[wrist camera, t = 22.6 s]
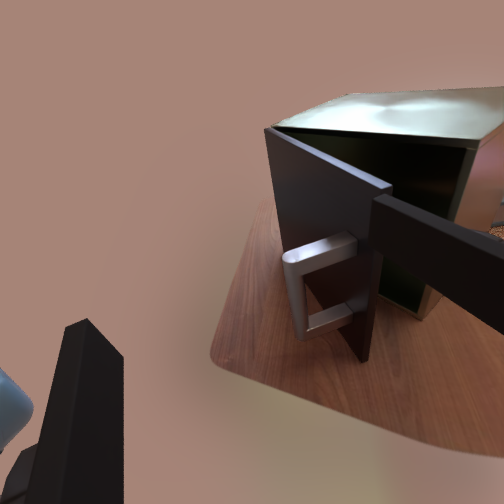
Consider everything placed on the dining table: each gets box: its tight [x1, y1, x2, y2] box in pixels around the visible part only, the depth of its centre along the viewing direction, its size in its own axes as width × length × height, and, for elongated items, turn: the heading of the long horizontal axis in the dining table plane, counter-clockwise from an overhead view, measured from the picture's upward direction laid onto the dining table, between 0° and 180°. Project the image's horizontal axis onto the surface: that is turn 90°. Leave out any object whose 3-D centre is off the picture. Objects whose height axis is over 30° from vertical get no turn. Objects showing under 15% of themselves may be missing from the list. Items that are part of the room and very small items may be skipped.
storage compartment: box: [271, 87, 504, 321], centre depth 40 cm, size 18×26×24 cm
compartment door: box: [264, 128, 393, 363], centre depth 34 cm, size 8×26×23 cm, turn 17°
